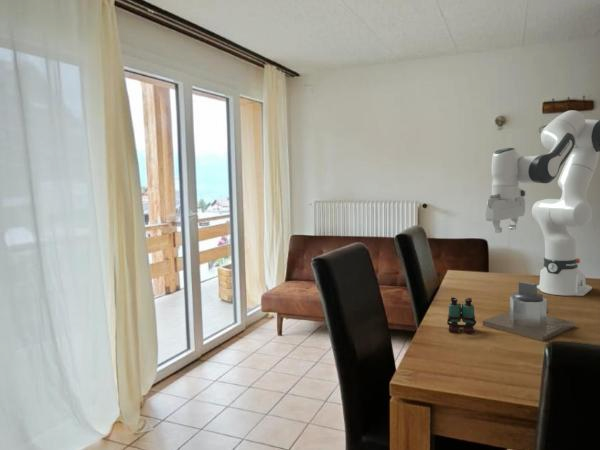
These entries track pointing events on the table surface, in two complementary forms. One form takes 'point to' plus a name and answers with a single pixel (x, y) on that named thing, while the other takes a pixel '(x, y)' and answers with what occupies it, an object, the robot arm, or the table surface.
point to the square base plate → (529, 320)
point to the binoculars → (456, 315)
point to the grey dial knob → (527, 292)
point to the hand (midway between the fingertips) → (505, 231)
